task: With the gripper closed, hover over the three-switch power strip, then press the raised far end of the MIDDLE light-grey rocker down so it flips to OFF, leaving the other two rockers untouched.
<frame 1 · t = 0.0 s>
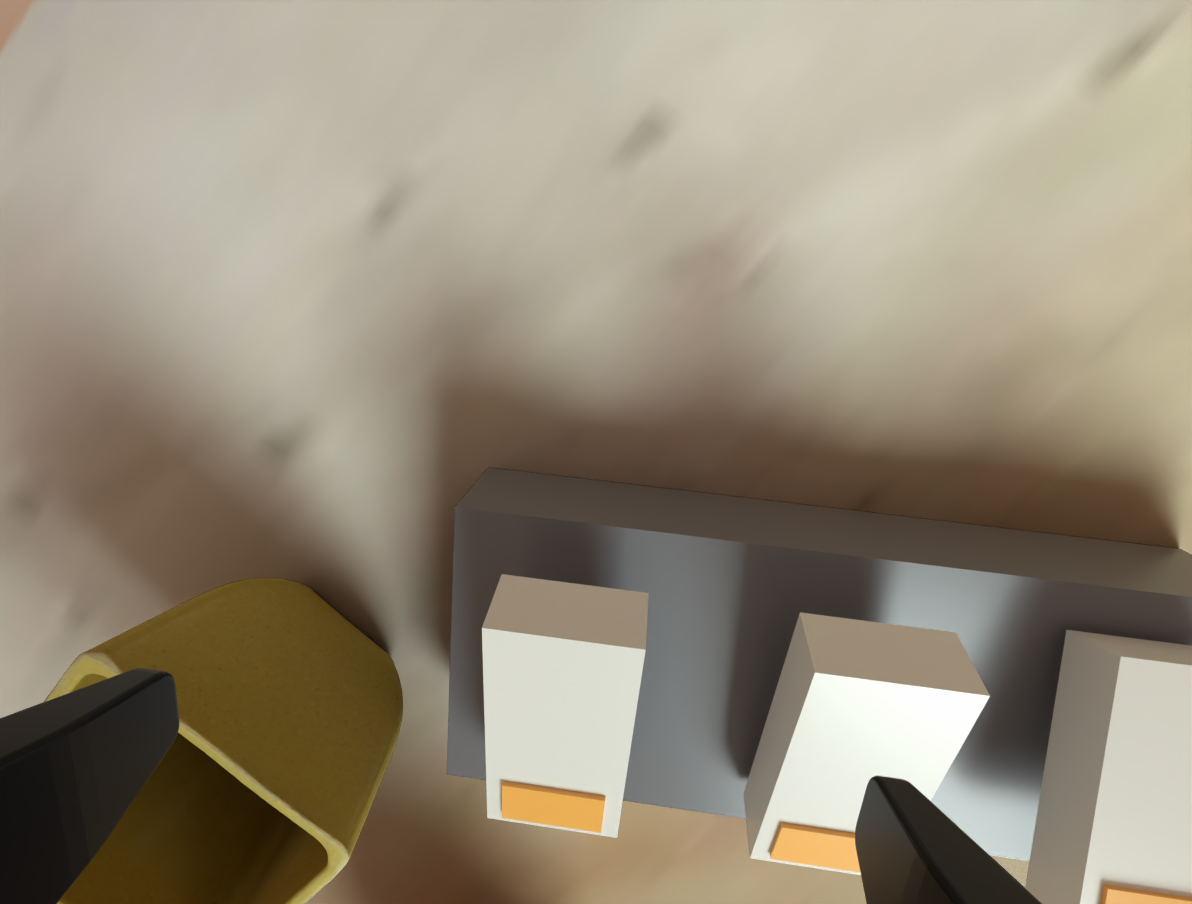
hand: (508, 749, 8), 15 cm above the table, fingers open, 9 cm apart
rocker c: (562, 715, 18), point 6 cm above the table, hinge at -13.0°
flower pot: (315, 651, 26), on the table
rocker a: (1147, 797, 17), point 6 cm above the table, hinge at 13.0°
rocker b: (846, 755, 17), point 6 cm above the table, hinge at -13.0°
power strip: (796, 630, 23), on the table
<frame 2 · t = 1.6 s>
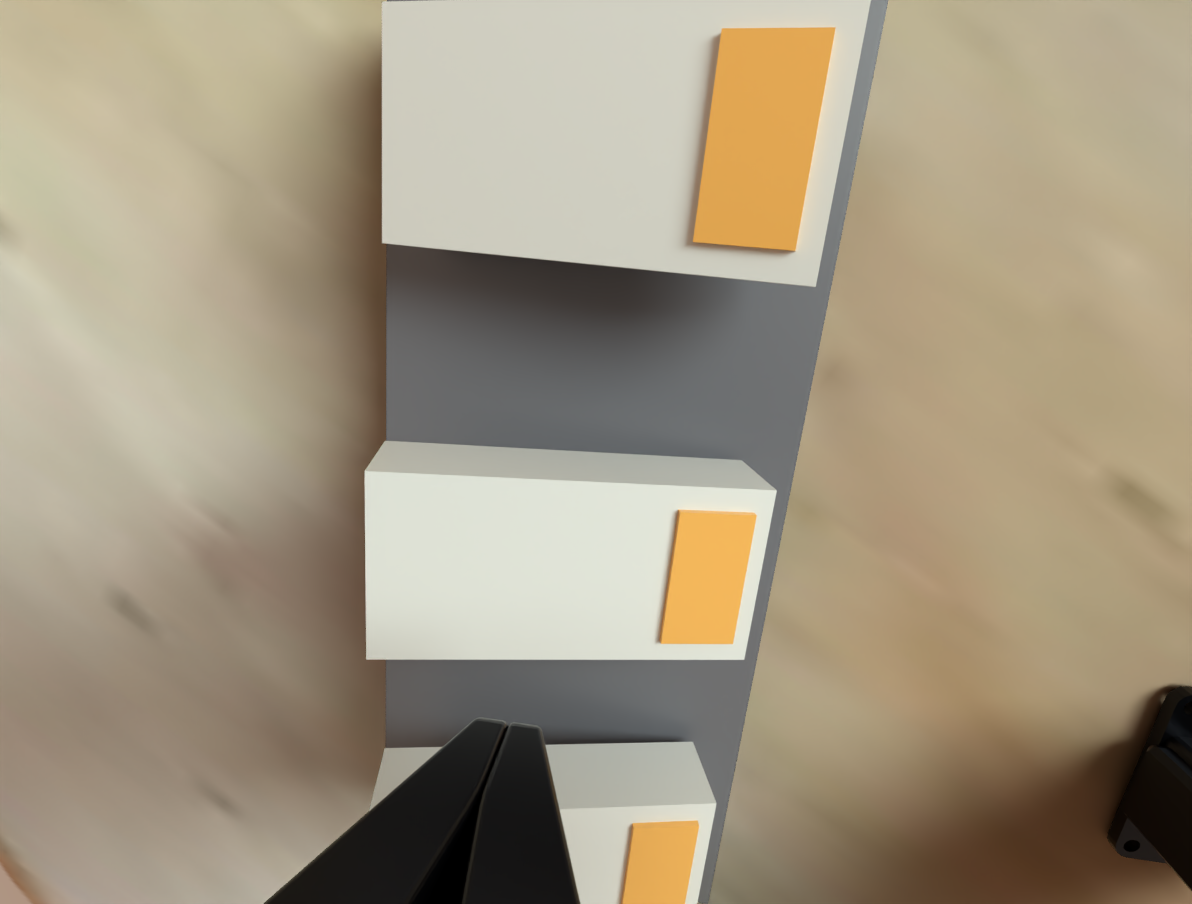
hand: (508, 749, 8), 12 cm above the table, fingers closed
rocker c: (541, 841, 16), point 6 cm above the table, hinge at -13.0°
rocker a: (604, 148, 11), point 6 cm above the table, hinge at 13.0°
rocker b: (568, 553, 13), point 6 cm above the table, hinge at -13.0°
power strip: (594, 466, 19), on the table
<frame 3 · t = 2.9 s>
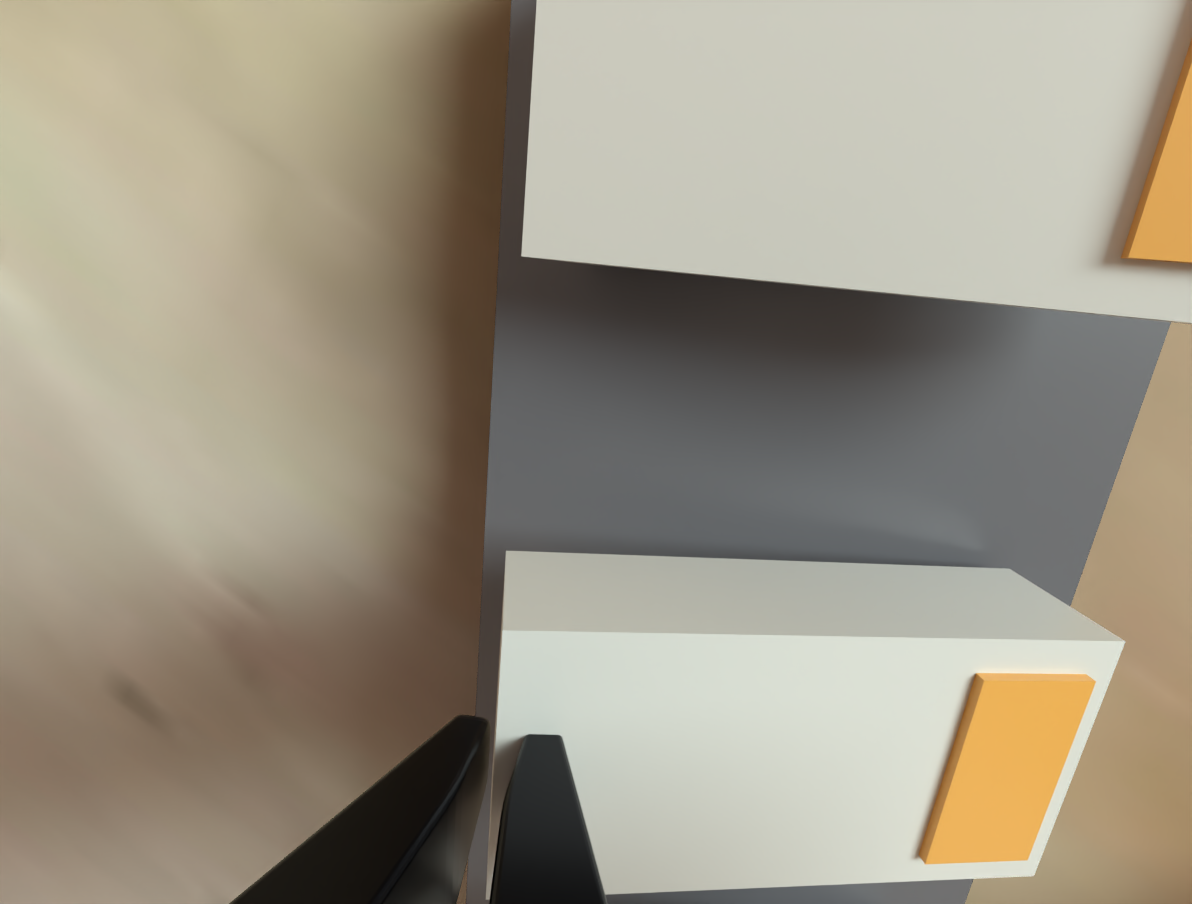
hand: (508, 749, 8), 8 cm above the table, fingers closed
rocker a: (908, 99, 7), point 6 cm above the table, hinge at 13.0°
rocker b: (777, 720, 9), point 6 cm above the table, hinge at -12.9°, touching gripper
power strip: (731, 541, 15), on the table
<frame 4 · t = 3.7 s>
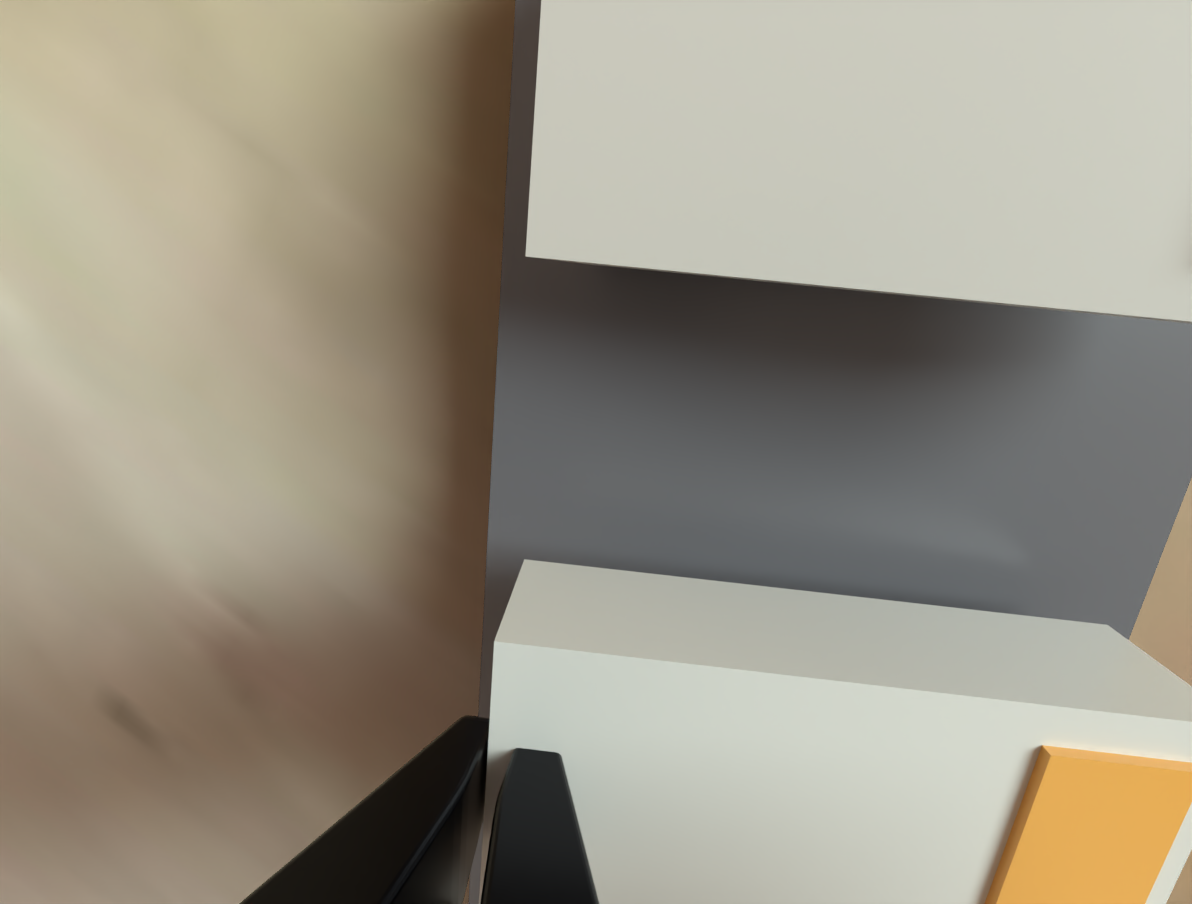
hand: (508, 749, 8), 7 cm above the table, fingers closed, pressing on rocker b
rocker a: (967, 76, 6), point 6 cm above the table, hinge at 13.0°
rocker b: (806, 769, 8), point 6 cm above the table, hinge at -4.0°, touching gripper
power strip: (749, 559, 14), on the table
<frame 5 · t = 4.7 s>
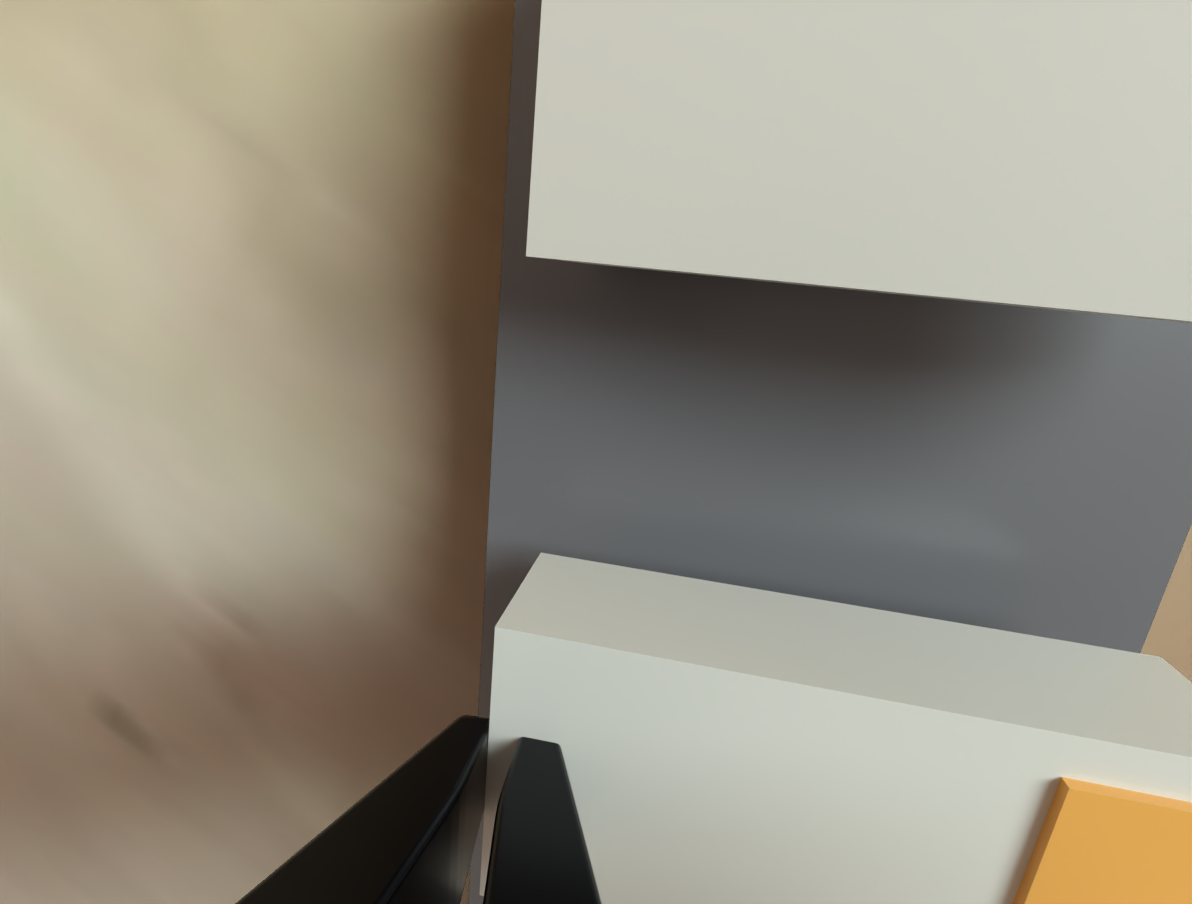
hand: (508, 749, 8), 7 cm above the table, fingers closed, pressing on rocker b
rocker a: (985, 69, 6), point 6 cm above the table, hinge at 13.0°
rocker b: (813, 783, 8), point 6 cm above the table, hinge at 3.1°, touching gripper
power strip: (752, 563, 14), on the table
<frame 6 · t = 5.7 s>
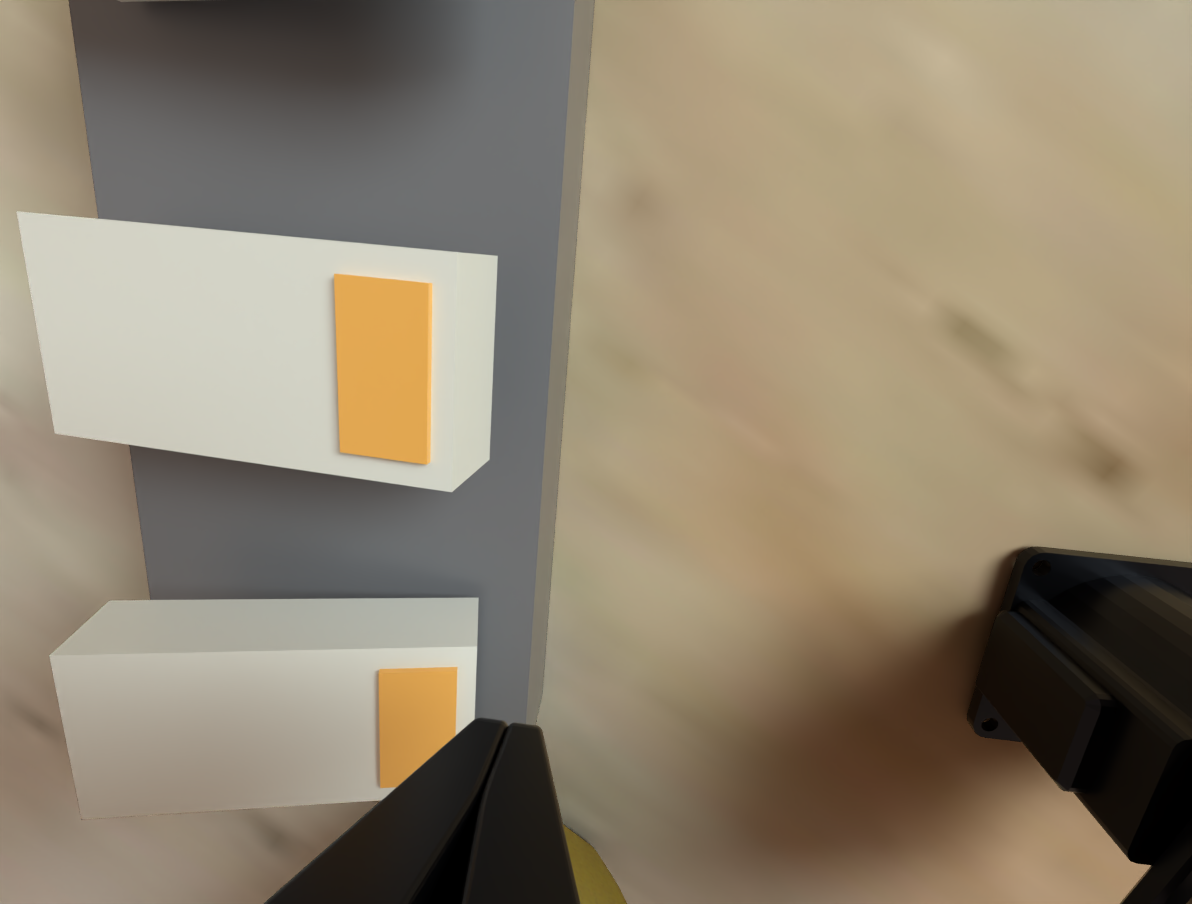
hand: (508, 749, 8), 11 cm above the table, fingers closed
rocker c: (294, 702, 14), point 6 cm above the table, hinge at -13.0°
flower pot: (505, 842, 23), on the table
rocker b: (270, 346, 12), point 6 cm above the table, hinge at 6.0°
power strip: (395, 319, 18), on the table
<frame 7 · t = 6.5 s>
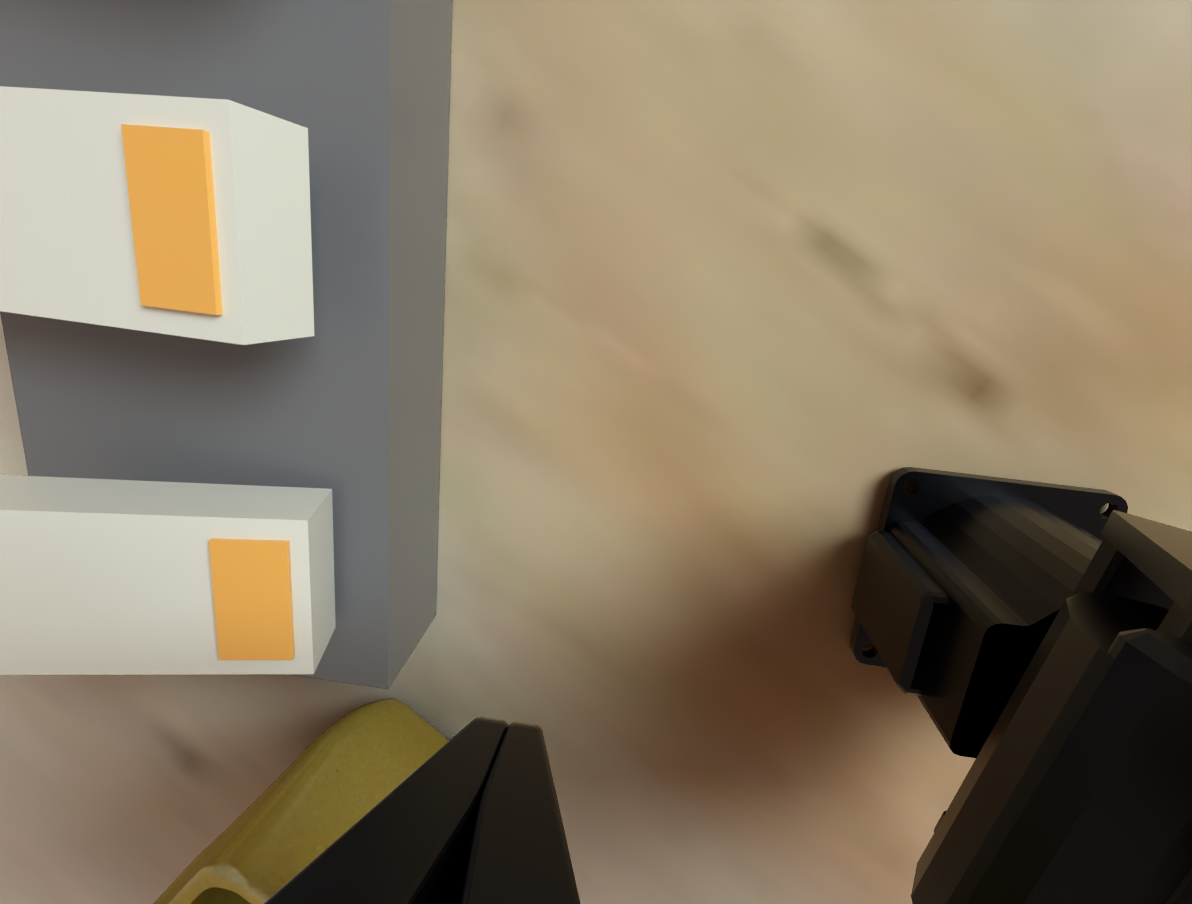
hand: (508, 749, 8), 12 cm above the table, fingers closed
rocker c: (142, 577, 15), point 6 cm above the table, hinge at -13.0°
flower pot: (408, 768, 24), on the table
rocker b: (96, 214, 12), point 6 cm above the table, hinge at 7.0°
power strip: (280, 234, 18), on the table
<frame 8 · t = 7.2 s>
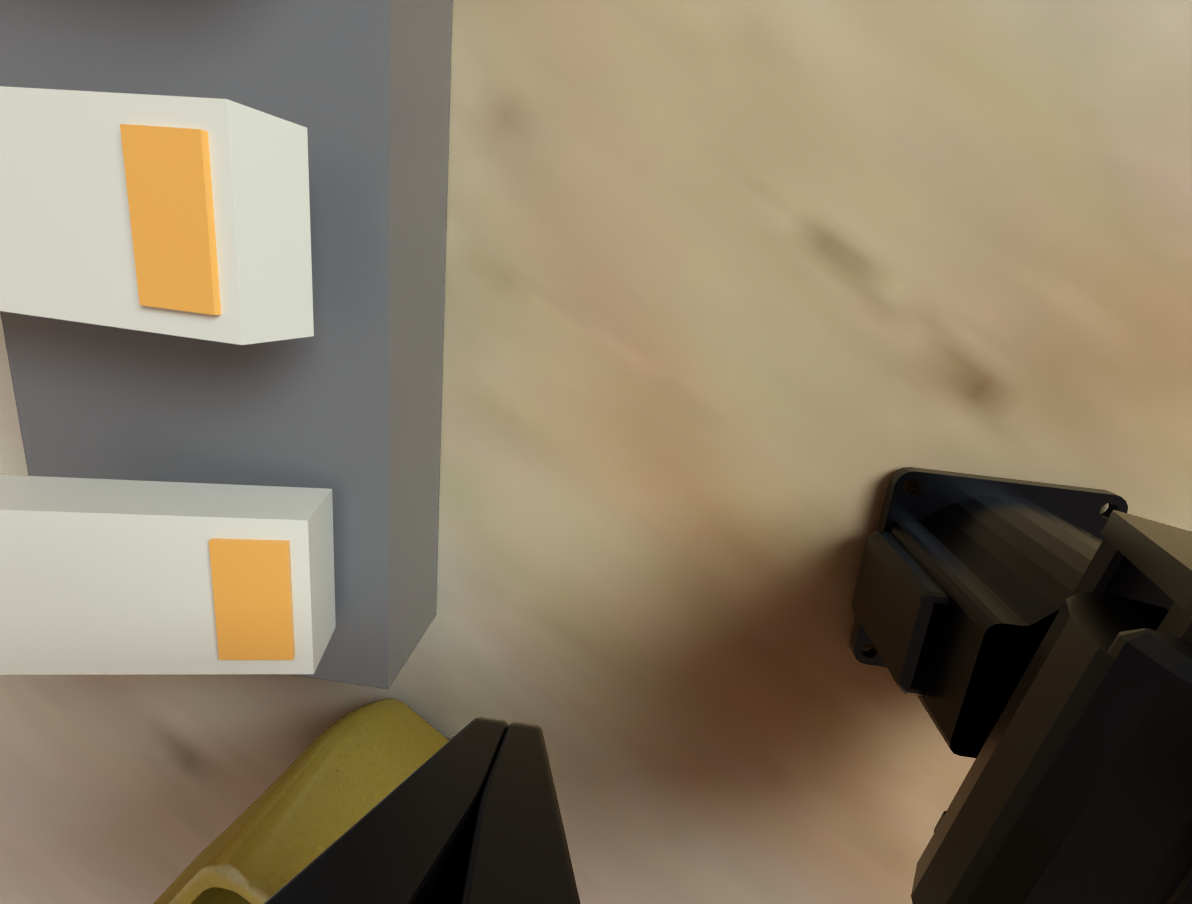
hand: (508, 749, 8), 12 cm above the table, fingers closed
rocker c: (142, 576, 15), point 6 cm above the table, hinge at -13.0°
flower pot: (408, 768, 24), on the table
rocker b: (96, 214, 12), point 6 cm above the table, hinge at 7.5°
power strip: (280, 234, 18), on the table
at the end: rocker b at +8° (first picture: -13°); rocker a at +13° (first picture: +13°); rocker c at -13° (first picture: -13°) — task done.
